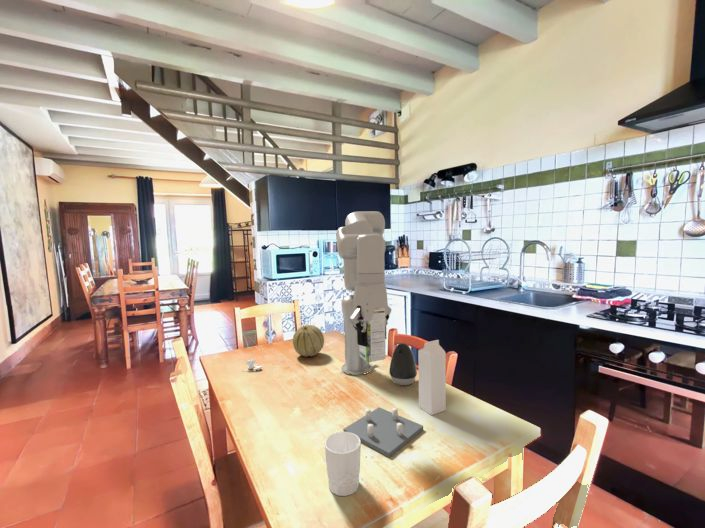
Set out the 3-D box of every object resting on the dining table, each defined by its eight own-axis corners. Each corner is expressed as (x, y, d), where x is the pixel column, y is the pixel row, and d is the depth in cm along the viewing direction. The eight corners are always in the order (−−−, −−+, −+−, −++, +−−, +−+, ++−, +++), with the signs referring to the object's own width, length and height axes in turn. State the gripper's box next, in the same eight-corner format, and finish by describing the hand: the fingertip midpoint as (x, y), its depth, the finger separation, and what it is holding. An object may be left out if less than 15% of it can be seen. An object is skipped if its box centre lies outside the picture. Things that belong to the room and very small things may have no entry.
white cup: (326, 474, 77) (324, 432, 76) (359, 471, 77) (358, 430, 77) (326, 500, 69) (324, 454, 68) (363, 497, 70) (362, 451, 69)
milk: (445, 410, 104) (446, 342, 102) (431, 415, 101) (431, 345, 99) (432, 402, 109) (432, 337, 108) (418, 407, 106) (418, 340, 105)
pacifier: (264, 370, 141) (264, 361, 140) (245, 375, 136) (245, 365, 136) (257, 364, 148) (257, 355, 148) (239, 368, 143) (239, 359, 143)
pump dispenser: (385, 385, 122) (384, 345, 121) (395, 375, 132) (394, 338, 130) (412, 391, 118) (411, 349, 117) (420, 379, 127) (419, 341, 126)
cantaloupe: (325, 350, 164) (324, 320, 163) (324, 360, 150) (323, 328, 149) (295, 351, 164) (294, 321, 162) (291, 362, 149) (290, 329, 148)
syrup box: (358, 356, 94) (357, 306, 93) (377, 353, 96) (376, 304, 95) (367, 363, 89) (366, 309, 88) (386, 359, 91) (385, 307, 90)
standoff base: (379, 410, 104) (378, 398, 104) (423, 429, 94) (423, 415, 93) (343, 433, 93) (343, 418, 93) (389, 457, 82) (388, 441, 82)
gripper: (380, 275, 100) (381, 332, 101) (338, 281, 87) (340, 346, 89) (400, 276, 94) (401, 337, 96) (359, 283, 82) (360, 353, 83)
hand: (372, 341), depth 92 cm, fingers closed on syrup box, 7 cm apart
